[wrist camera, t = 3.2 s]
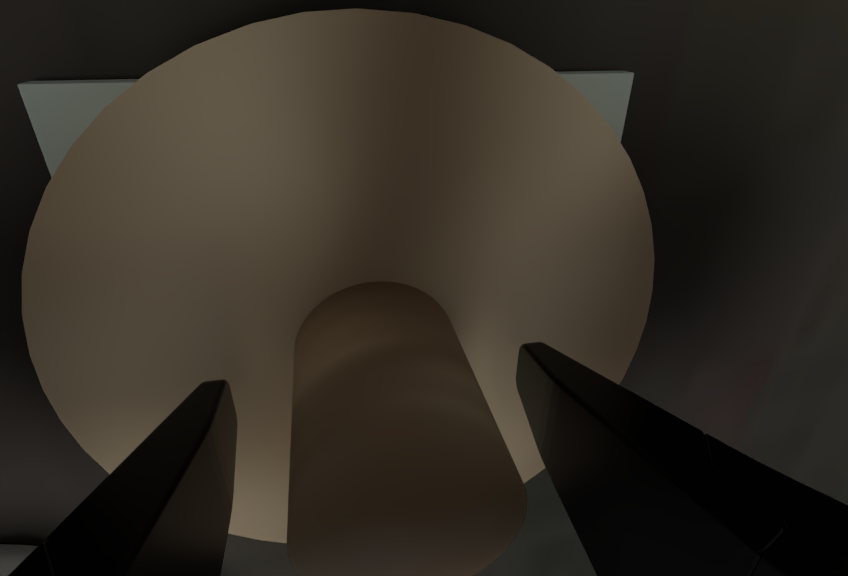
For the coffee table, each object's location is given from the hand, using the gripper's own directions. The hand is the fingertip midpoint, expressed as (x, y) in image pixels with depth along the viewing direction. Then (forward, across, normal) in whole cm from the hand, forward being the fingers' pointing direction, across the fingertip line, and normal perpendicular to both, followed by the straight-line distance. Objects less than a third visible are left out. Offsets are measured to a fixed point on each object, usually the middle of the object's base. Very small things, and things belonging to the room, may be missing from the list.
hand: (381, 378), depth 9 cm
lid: (+2, 0, 0) cm, 2 cm away
